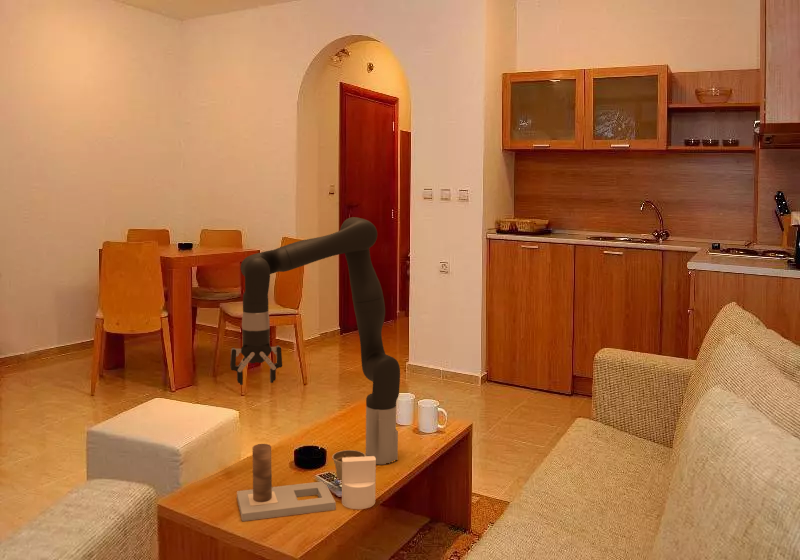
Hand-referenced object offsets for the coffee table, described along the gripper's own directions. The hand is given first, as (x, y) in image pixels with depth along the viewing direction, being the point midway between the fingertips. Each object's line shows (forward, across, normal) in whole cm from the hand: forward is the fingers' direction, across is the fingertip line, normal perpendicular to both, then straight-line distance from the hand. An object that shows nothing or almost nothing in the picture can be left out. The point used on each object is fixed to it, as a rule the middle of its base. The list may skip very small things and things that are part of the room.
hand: (256, 383), depth 206 cm
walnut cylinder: (+26, -1, -19) cm, 32 cm away
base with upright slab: (+28, +24, -23) cm, 44 cm away
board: (+28, +5, -19) cm, 34 cm away
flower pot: (+28, +24, -12) cm, 39 cm away
